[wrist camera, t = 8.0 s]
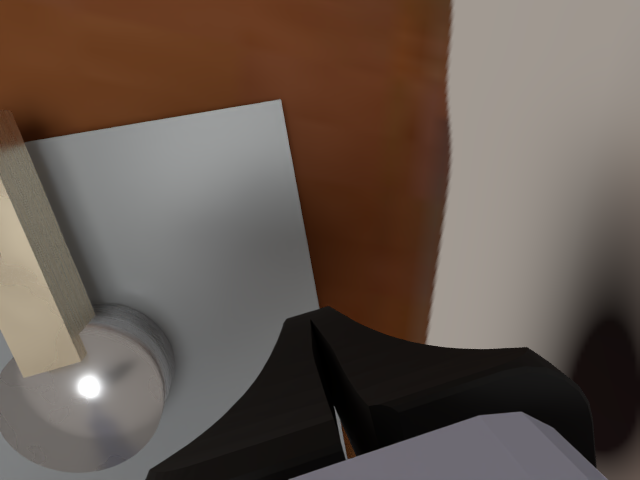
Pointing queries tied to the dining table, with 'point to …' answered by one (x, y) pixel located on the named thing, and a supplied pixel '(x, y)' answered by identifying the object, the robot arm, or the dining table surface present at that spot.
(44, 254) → the door lever handle
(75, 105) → the dining table surface
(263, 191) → the lock plate
